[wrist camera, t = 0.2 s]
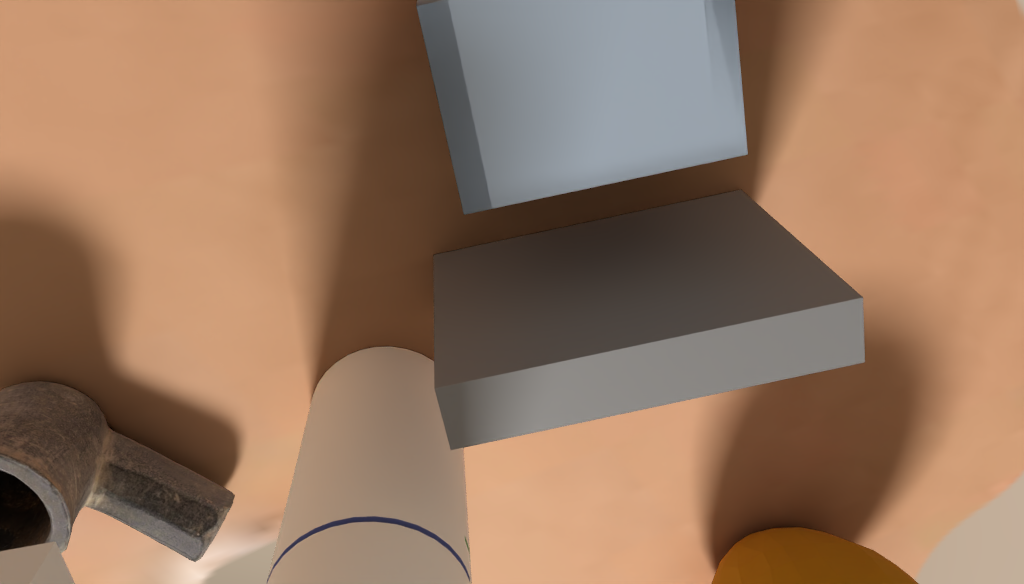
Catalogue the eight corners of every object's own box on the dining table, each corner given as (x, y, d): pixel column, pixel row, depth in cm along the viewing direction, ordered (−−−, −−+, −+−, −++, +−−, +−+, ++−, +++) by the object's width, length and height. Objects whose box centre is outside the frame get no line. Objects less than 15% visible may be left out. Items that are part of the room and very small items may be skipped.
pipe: (203, 535, 44) (158, 659, 36) (-54, 422, 40) (-162, 535, 33) (261, 446, 42) (225, 558, 35) (-2, 320, 38) (-104, 415, 31)
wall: (433, 254, 39) (434, 388, 28) (741, 189, 39) (862, 297, 28) (445, 302, 40) (450, 450, 29) (745, 239, 40) (864, 362, 29)
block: (419, -13, 34) (416, 6, 27) (669, -66, 34) (729, -61, 27) (457, 159, 37) (463, 214, 30) (689, 110, 37) (747, 154, 30)
